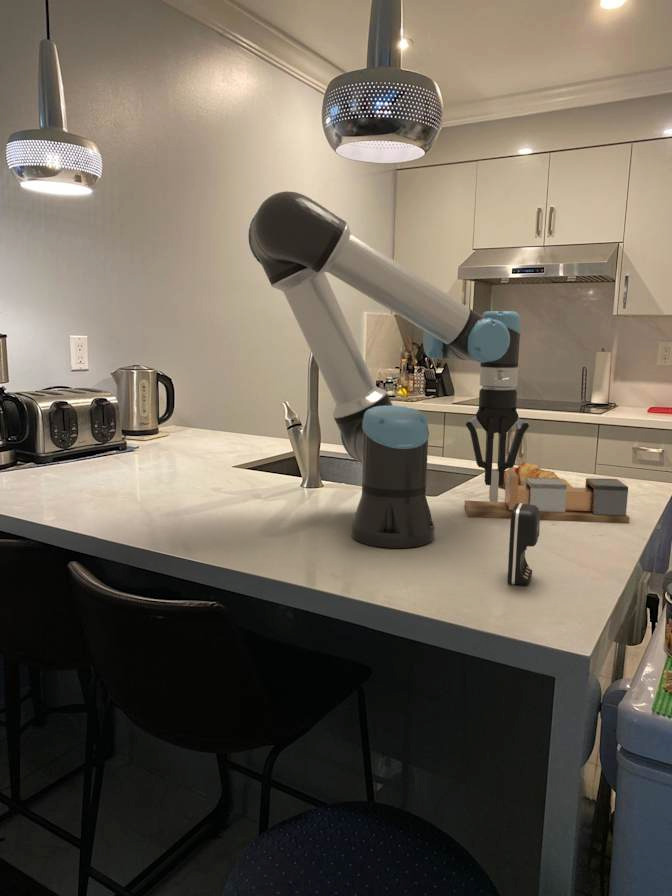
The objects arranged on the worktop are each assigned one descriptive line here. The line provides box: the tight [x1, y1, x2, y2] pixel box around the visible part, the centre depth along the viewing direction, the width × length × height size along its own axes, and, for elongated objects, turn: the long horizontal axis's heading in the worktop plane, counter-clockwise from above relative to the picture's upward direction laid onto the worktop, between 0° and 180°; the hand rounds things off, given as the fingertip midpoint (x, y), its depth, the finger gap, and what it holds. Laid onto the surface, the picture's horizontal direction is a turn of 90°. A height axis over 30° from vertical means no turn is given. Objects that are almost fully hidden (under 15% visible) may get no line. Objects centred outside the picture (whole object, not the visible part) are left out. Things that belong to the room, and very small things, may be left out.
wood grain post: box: [504, 469, 594, 511], centre depth 140 cm, size 20×7×7 cm, turn 84°
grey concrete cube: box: [525, 478, 567, 513], centre depth 140 cm, size 7×7×6 cm
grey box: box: [584, 477, 629, 516], centre depth 139 cm, size 6×8×6 cm
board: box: [464, 500, 630, 524], centre depth 141 cm, size 32×9×1 cm, turn 84°
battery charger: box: [506, 503, 541, 586], centre depth 102 cm, size 7×4×11 cm, turn 159°
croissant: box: [499, 461, 573, 489], centre depth 163 cm, size 21×10×8 cm, turn 52°
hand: (493, 500), depth 142 cm, fingers closed
